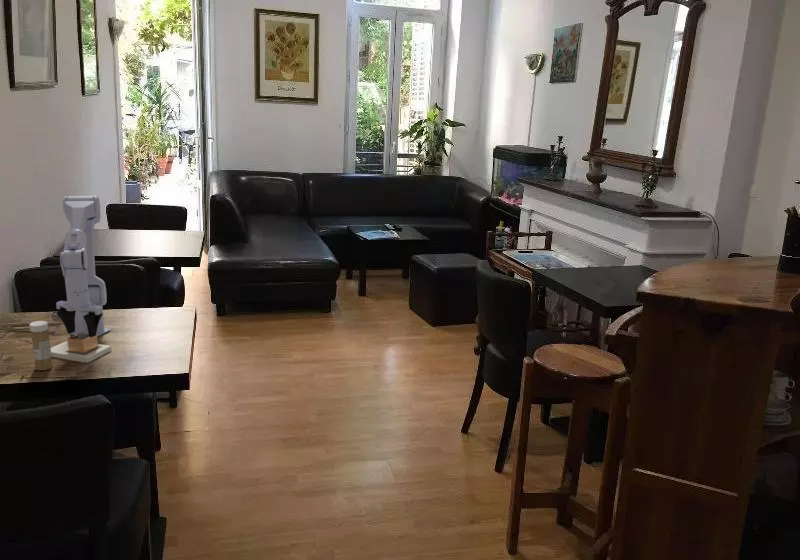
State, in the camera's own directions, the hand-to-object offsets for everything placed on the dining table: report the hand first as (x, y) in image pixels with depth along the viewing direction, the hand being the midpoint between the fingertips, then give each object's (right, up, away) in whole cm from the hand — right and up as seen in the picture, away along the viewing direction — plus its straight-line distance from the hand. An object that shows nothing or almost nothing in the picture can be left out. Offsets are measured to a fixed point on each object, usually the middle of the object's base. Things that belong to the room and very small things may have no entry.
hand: (82, 334), depth 193 cm
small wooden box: (0, -4, +1) cm, 5 cm away
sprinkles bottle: (-7, -9, -9) cm, 14 cm away
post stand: (-2, -6, +2) cm, 7 cm away
